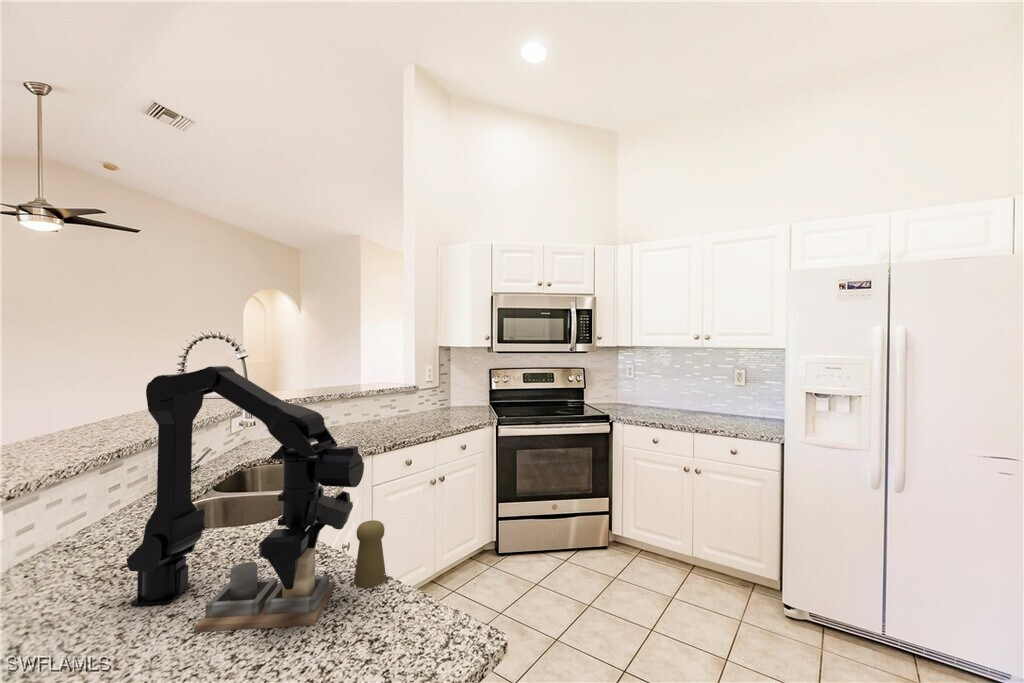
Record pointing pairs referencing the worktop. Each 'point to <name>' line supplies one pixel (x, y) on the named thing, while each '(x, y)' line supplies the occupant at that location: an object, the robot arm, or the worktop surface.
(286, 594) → the maple pin
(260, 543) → the robot arm
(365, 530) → the olive green peg figure
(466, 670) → the worktop surface
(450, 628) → the worktop surface
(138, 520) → the worktop surface
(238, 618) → the board
